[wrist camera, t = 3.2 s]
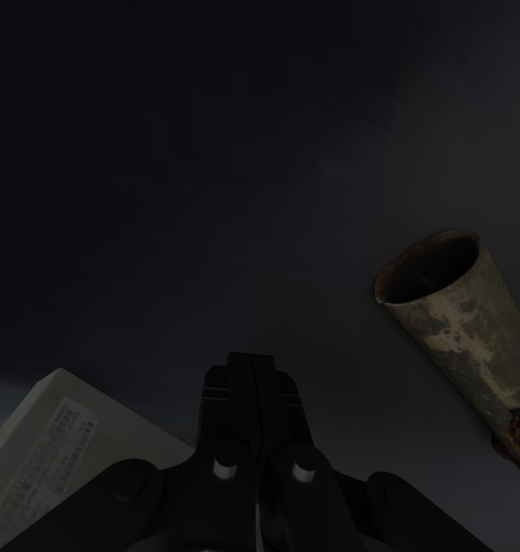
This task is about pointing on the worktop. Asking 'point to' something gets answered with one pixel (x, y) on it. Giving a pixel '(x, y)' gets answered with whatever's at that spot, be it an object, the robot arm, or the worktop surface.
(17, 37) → the worktop surface
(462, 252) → the cylinder with dark lump
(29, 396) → the geiger counter
